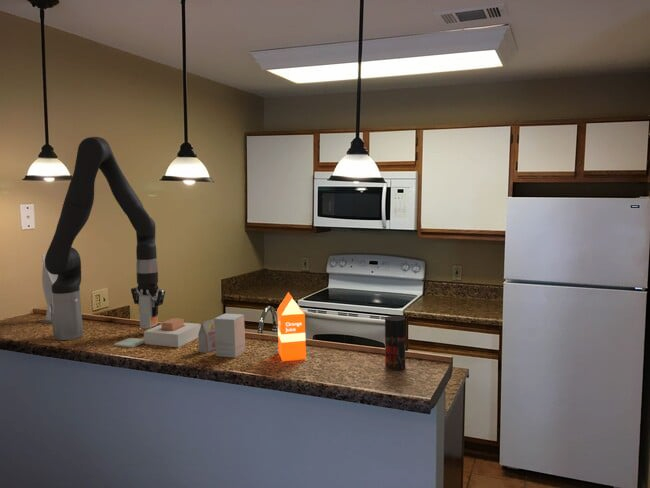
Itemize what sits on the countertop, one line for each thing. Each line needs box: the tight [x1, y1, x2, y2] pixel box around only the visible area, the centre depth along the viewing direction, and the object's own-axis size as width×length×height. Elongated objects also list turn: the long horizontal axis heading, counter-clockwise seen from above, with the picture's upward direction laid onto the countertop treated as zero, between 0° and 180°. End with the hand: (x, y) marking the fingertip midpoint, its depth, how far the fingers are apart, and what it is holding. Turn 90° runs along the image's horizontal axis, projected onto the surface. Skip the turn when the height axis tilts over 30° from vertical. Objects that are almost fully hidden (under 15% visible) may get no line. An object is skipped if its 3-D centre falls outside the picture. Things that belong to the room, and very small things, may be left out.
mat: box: [113, 337, 145, 348], centre depth 190 cm, size 8×8×1 cm
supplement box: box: [213, 312, 247, 359], centre depth 176 cm, size 7×7×13 cm
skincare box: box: [138, 293, 159, 329], centre depth 201 cm, size 6×4×12 cm
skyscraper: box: [41, 253, 58, 325], centre depth 223 cm, size 8×8×28 cm
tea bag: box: [197, 318, 216, 354], centre depth 181 cm, size 4×7×10 cm, turn 146°
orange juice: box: [276, 291, 307, 362], centre depth 172 cm, size 8×9×20 cm
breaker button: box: [160, 317, 185, 331], centre depth 193 cm, size 5×7×4 cm
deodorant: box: [384, 315, 406, 372], centre depth 160 cm, size 6×6×15 cm
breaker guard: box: [143, 322, 201, 348], centre depth 193 cm, size 14×14×4 cm
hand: (148, 315), depth 202 cm, fingers closed on skincare box, 4 cm apart
